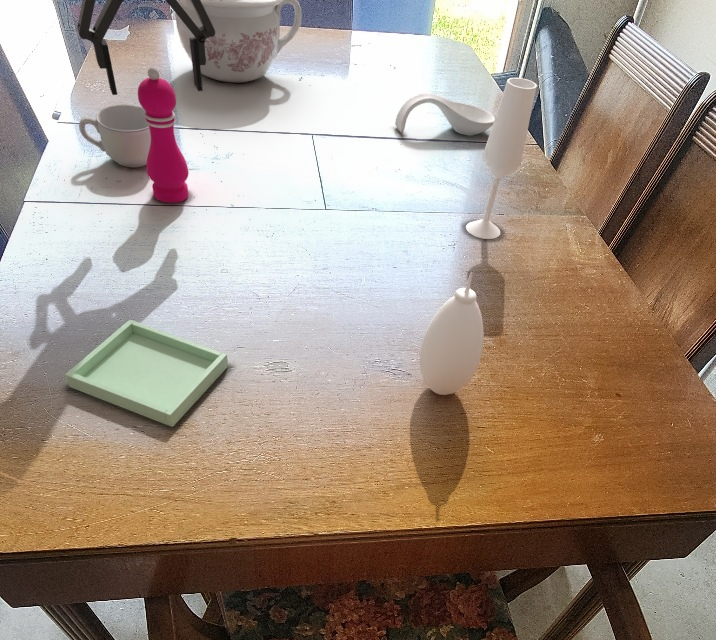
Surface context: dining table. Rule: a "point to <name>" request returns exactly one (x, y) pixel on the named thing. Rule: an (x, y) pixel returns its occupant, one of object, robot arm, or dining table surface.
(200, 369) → the tray
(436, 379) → the sauce bottle
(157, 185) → the pepper mill
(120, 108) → the teacup
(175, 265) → the dining table surface
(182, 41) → the chamber pot
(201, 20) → the robot arm
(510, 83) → the champagne flute
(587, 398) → the dining table surface
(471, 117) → the spoon rest
